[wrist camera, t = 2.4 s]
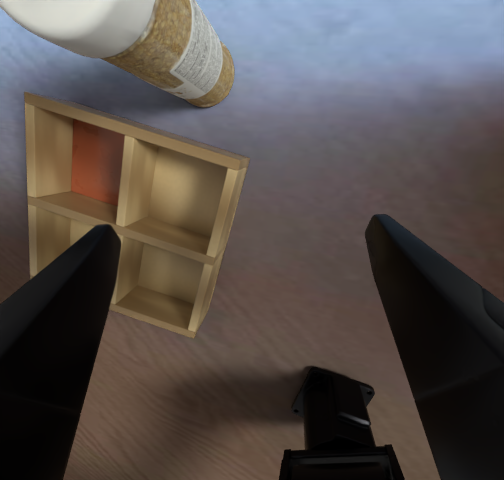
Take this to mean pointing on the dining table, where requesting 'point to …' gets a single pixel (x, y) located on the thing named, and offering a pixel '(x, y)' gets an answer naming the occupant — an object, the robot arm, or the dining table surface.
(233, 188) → the grid
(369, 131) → the dining table surface
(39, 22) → the sprinkles bottle
